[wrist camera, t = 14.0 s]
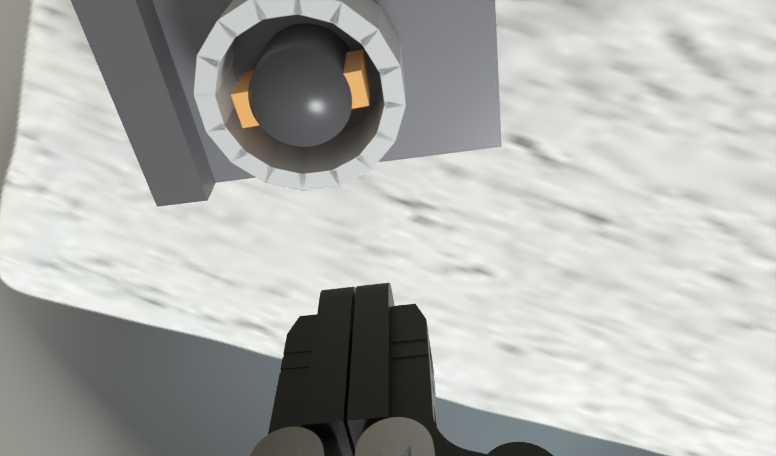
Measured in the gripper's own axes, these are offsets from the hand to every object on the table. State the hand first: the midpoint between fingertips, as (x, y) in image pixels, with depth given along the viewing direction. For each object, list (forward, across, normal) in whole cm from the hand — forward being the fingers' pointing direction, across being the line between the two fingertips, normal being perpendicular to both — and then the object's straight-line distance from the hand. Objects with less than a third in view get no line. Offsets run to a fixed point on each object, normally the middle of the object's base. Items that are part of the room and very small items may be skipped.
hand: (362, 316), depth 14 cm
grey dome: (+22, +4, +2) cm, 22 cm away
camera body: (+29, +4, +2) cm, 29 cm away
